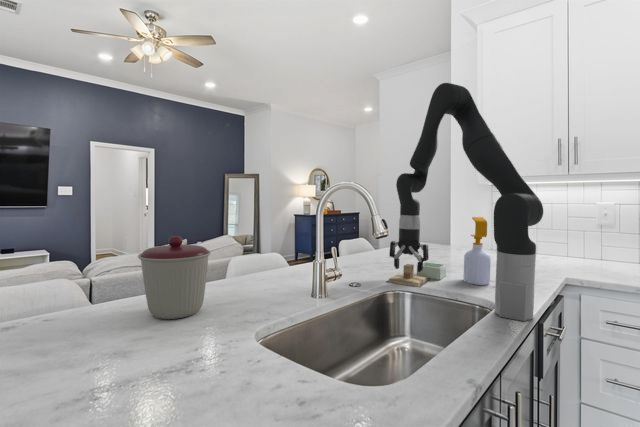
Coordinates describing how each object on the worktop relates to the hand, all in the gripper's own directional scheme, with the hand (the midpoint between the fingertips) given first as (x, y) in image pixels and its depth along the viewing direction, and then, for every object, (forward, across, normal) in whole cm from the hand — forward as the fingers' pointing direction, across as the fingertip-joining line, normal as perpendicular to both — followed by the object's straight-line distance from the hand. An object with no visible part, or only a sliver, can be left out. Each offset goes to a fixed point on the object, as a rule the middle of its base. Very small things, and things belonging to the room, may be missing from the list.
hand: (408, 270), depth 129 cm
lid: (+4, 0, 0) cm, 4 cm away
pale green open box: (+4, +5, +12) cm, 14 cm away
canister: (+5, -40, -70) cm, 81 cm away
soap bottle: (+4, +21, +15) cm, 26 cm away
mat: (+4, 0, 0) cm, 5 cm away
